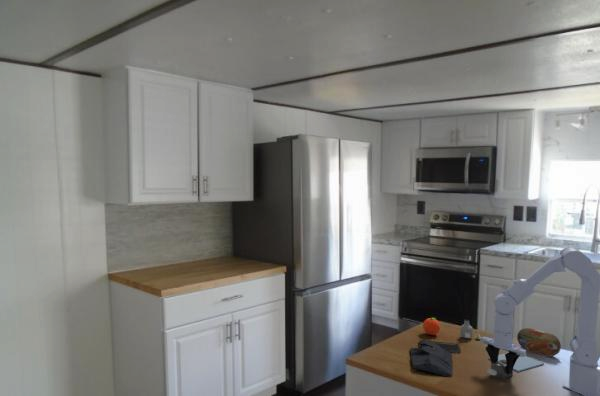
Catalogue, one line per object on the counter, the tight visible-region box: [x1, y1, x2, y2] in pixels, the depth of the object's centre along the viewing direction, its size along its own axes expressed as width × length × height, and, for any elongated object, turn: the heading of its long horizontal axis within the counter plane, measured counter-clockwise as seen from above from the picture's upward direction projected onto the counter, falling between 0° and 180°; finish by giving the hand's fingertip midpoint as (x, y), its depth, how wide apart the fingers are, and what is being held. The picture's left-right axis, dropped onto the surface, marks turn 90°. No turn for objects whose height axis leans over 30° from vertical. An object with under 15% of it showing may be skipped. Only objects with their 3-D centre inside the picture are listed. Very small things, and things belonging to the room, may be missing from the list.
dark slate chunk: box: [409, 339, 454, 377], centre depth 153 cm, size 15×22×5 cm
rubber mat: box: [487, 351, 545, 373], centre depth 154 cm, size 12×14×1 cm
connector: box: [487, 360, 514, 380], centre depth 143 cm, size 4×10×4 cm, turn 117°
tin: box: [516, 327, 562, 358], centre depth 163 cm, size 15×3×8 cm, turn 37°
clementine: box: [422, 317, 441, 336], centre depth 181 cm, size 8×7×7 cm
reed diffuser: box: [456, 289, 482, 340], centre depth 178 cm, size 10×7×20 cm
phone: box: [418, 339, 461, 354], centre depth 167 cm, size 8×1×15 cm
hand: (501, 370), depth 143 cm, fingers closed on connector, 4 cm apart
